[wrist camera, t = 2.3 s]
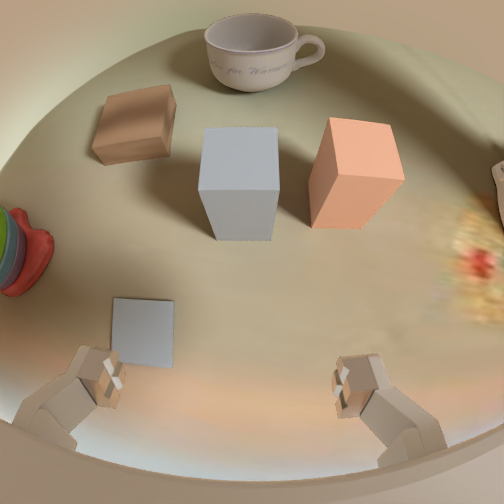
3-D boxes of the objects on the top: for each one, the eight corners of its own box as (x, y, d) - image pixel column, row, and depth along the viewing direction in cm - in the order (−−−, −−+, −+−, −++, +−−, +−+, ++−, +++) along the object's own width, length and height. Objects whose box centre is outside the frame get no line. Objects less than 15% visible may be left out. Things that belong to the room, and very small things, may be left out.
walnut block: (118, 116, 32) (107, 96, 29) (176, 106, 32) (169, 84, 29) (106, 166, 30) (91, 148, 26) (170, 158, 30) (160, 136, 26)
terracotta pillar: (308, 181, 29) (329, 117, 19) (354, 184, 29) (389, 124, 19) (311, 227, 28) (338, 174, 18) (360, 229, 28) (405, 180, 18)
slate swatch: (115, 298, 26) (113, 298, 25) (174, 301, 26) (173, 301, 25) (113, 360, 24) (111, 360, 24) (172, 367, 24) (171, 368, 24)
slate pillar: (219, 192, 29) (204, 128, 19) (270, 192, 29) (277, 127, 19) (216, 240, 27) (197, 190, 18) (271, 240, 27) (279, 190, 18)
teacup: (197, 95, 33) (187, 46, 25) (227, 49, 35) (224, 6, 28) (308, 118, 31) (319, 67, 24) (322, 68, 34) (332, 23, 27)
